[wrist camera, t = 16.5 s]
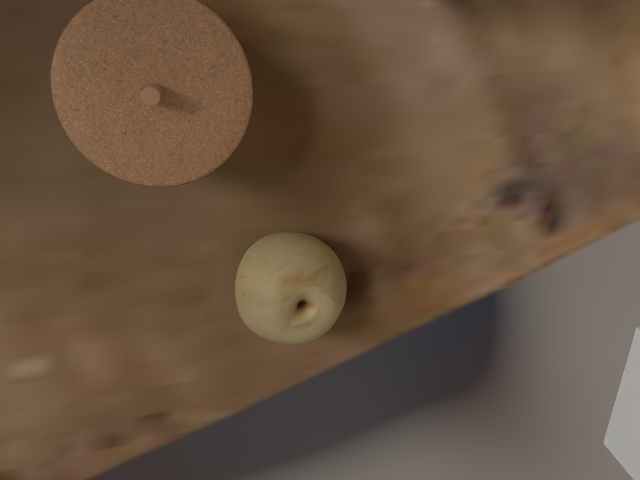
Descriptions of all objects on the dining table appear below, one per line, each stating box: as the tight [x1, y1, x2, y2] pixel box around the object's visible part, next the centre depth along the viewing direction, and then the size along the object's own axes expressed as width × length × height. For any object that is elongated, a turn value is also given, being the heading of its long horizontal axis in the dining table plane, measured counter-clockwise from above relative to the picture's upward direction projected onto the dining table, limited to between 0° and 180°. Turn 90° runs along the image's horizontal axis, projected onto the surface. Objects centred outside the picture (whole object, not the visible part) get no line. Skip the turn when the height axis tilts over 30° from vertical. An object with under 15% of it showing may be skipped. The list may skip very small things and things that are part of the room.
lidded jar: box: [50, 0, 253, 187], centre depth 36 cm, size 11×11×9 cm
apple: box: [235, 232, 347, 344], centre depth 43 cm, size 8×8×8 cm
